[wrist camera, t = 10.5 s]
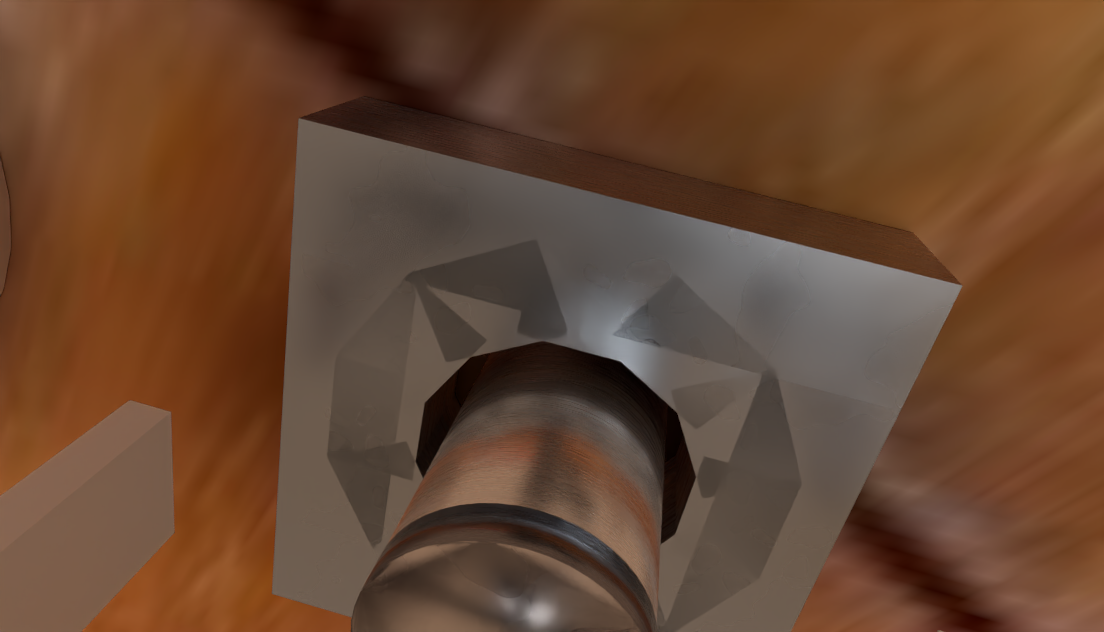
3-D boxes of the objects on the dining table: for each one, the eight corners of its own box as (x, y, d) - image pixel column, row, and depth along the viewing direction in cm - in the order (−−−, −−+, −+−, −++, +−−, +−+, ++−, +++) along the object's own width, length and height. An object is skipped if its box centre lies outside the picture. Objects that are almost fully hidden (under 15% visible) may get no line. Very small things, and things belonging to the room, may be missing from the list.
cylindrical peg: (499, 287, 17) (365, 502, 10) (691, 337, 17) (695, 595, 10) (469, 445, 19) (339, 717, 12) (640, 493, 19) (612, 801, 12)
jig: (364, 95, 16) (298, 118, 13) (913, 233, 15) (962, 285, 12) (325, 516, 21) (271, 593, 18) (733, 633, 20) (740, 732, 18)
